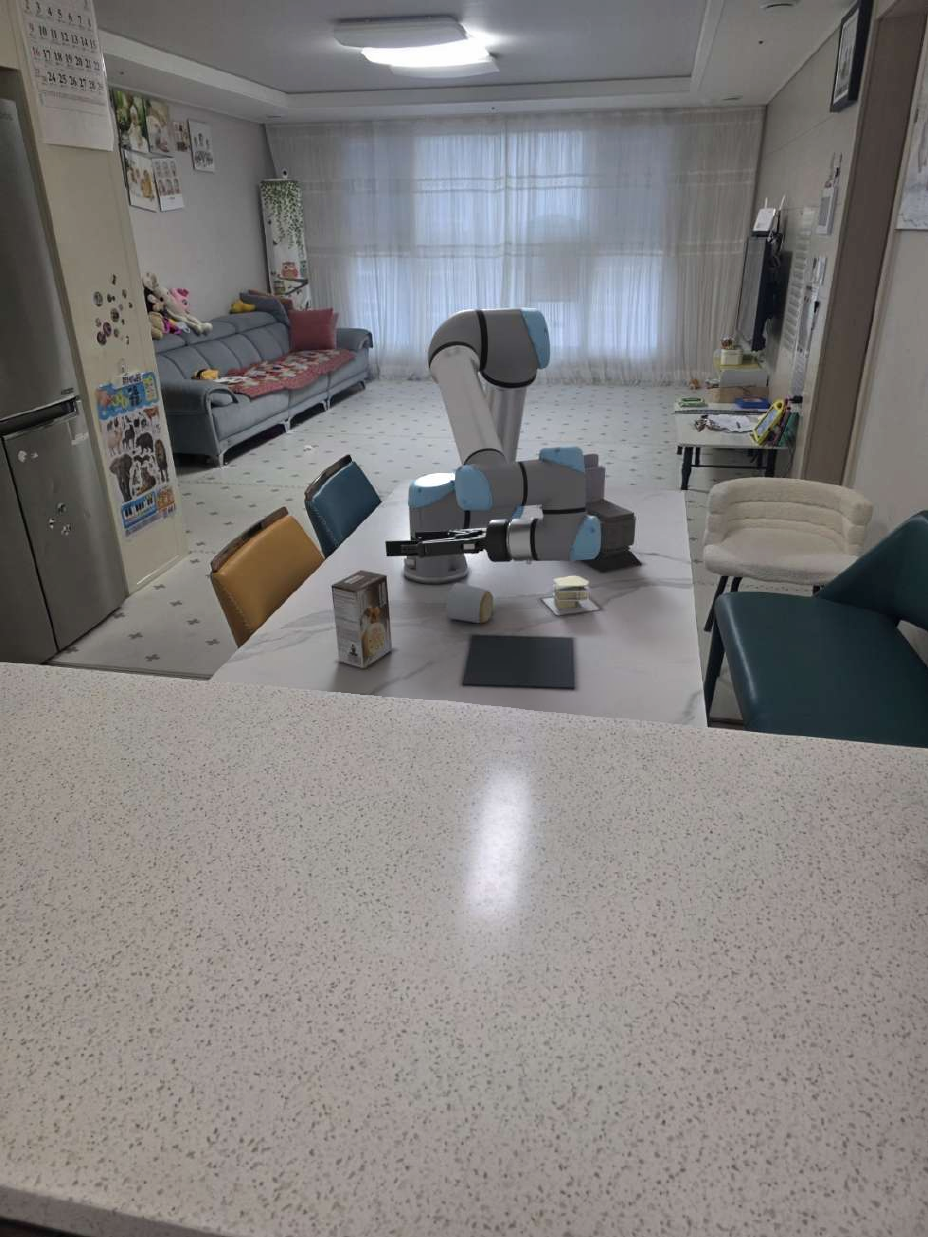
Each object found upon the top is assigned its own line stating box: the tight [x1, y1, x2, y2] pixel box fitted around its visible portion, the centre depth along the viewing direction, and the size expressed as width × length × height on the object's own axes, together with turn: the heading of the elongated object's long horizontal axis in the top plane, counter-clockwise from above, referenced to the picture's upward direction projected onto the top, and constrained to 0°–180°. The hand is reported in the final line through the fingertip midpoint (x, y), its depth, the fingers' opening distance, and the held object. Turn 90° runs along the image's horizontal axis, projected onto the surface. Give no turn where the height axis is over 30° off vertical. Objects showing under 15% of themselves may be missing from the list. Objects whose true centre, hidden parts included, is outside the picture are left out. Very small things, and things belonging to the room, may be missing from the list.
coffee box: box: [331, 569, 393, 669], centre depth 157 cm, size 9×6×16 cm
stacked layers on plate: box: [541, 575, 600, 616], centre depth 179 cm, size 10×9×6 cm
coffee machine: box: [580, 453, 643, 573], centre depth 206 cm, size 30×16×24 cm, turn 25°
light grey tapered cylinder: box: [446, 582, 494, 624], centre depth 174 cm, size 11×8×8 cm
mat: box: [462, 634, 575, 690], centre depth 157 cm, size 20×20×1 cm
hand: (401, 543), depth 153 cm, fingers open, 13 cm apart
